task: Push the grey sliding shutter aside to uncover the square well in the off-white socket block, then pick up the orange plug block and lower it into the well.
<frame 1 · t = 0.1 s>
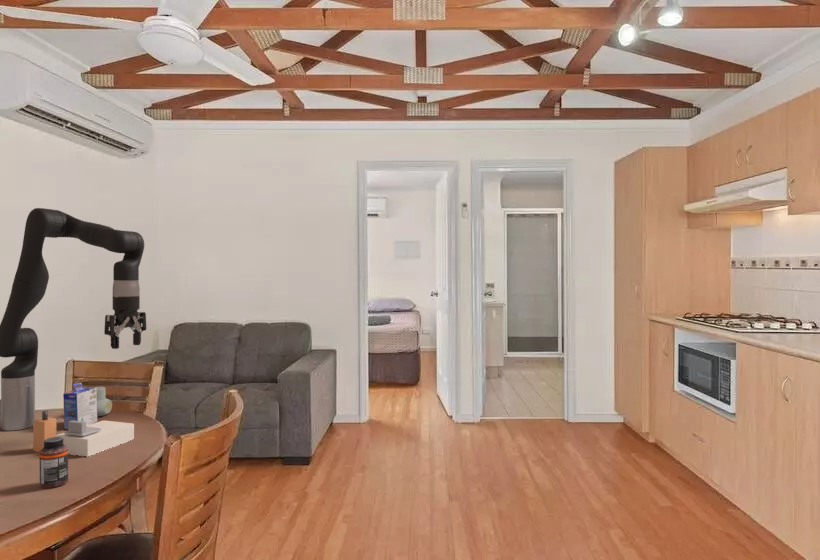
hand: (126, 346, 170), 29 cm above the table, tool pointing down, fingers open, 8 cm apart
air freshener: (96, 416, 199), on the table
socket: (94, 446, 164), on the table
plug: (45, 450, 160), on the table
supplement bottle: (54, 485, 135), on the table
ink cartridge box: (80, 426, 186), on the table
shutter: (83, 426, 160), point 7 cm above the table, slide at 0.0 cm
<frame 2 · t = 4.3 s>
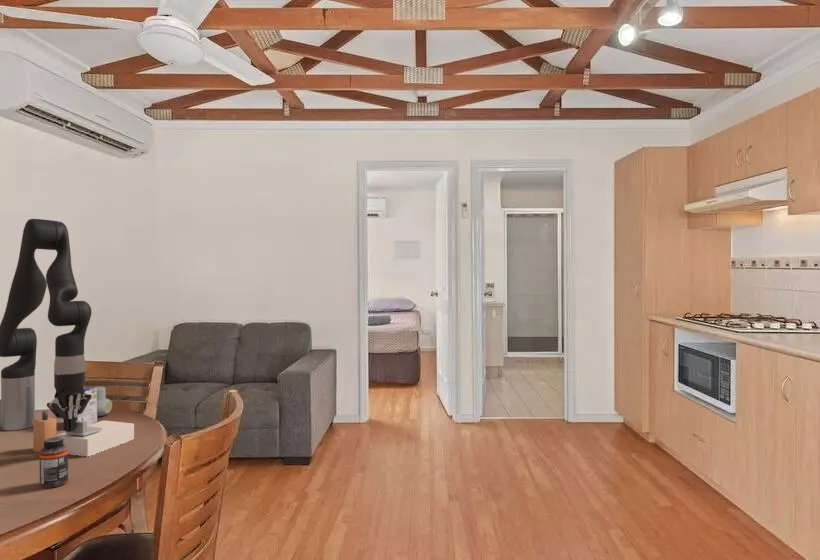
hand: (69, 431, 156), 7 cm above the table, tool pointing down, fingers closed
shutter: (84, 425, 160), point 7 cm above the table, slide at 0.4 cm, touching gripper
everything else where it was.
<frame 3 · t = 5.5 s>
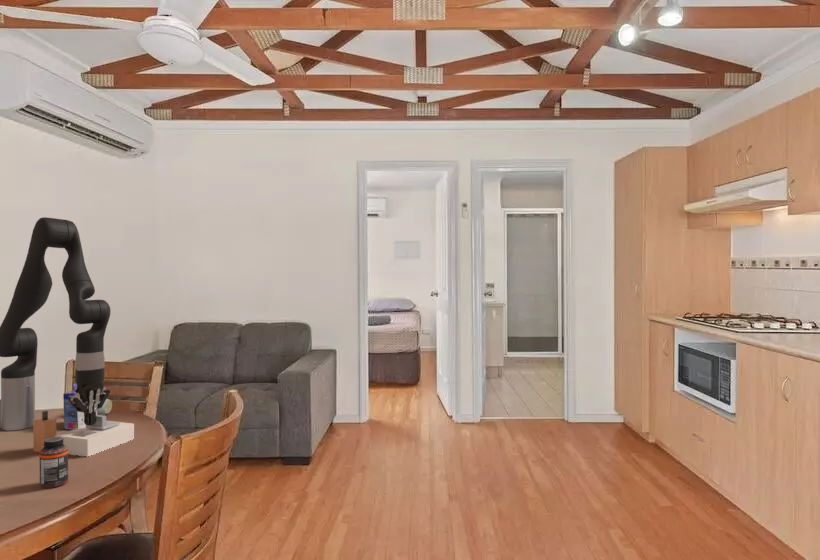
hand: (89, 424, 162), 7 cm above the table, tool pointing down, fingers closed
shutter: (103, 419, 167), point 7 cm above the table, slide at 7.1 cm, touching gripper
everything else where it was.
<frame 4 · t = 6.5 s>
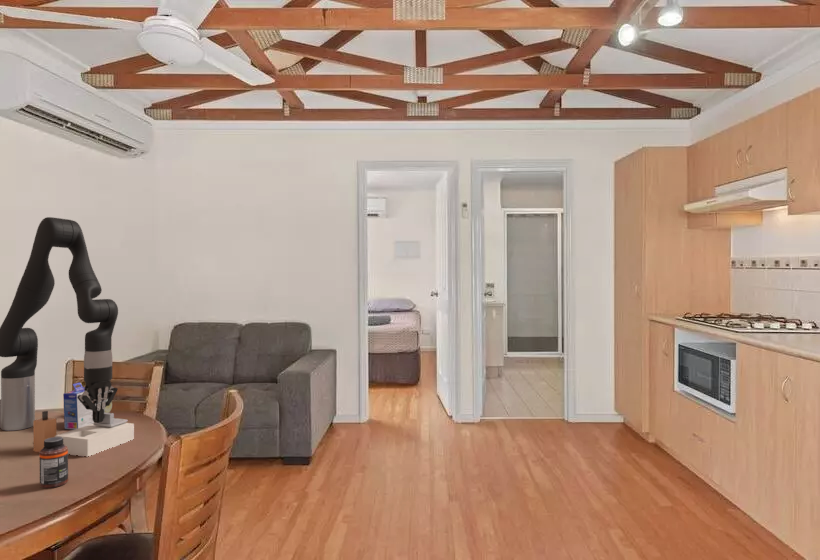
hand: (98, 422, 165), 7 cm above the table, tool pointing down, fingers closed
shutter: (110, 417, 169), point 7 cm above the table, slide at 10.0 cm, touching gripper
everything else where it was.
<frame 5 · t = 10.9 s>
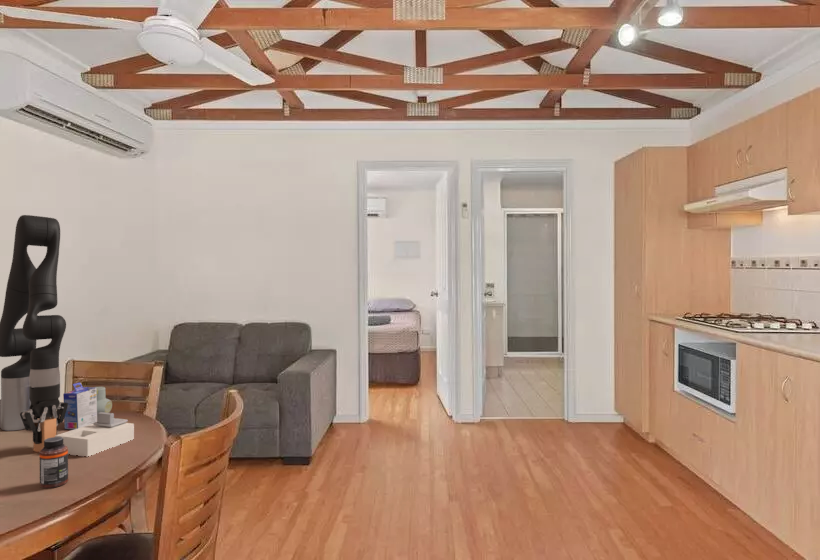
hand: (44, 441, 160), 3 cm above the table, tool pointing down, fingers closed on plug, 3 cm apart
plug: (45, 449, 160), on the table, touching gripper
shutter: (110, 417, 169), point 7 cm above the table, slide at 10.0 cm
everything else where it was.
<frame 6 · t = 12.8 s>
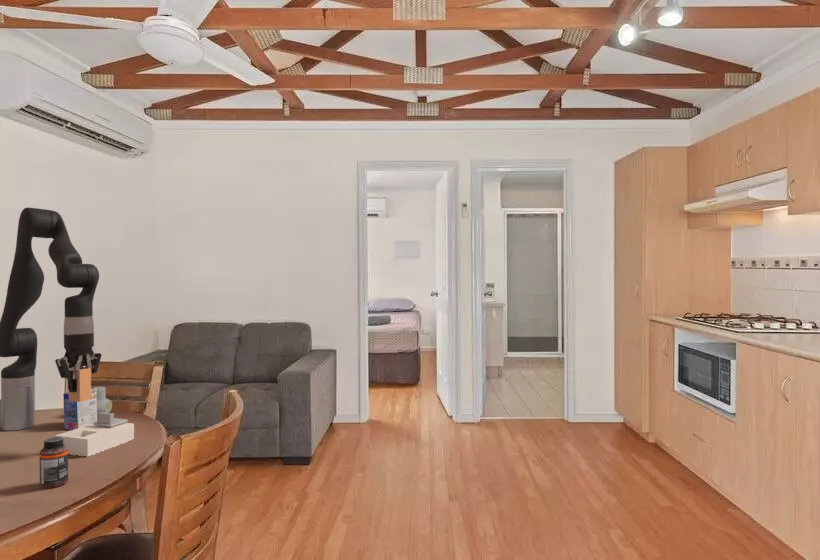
hand: (79, 390, 159), 18 cm above the table, tool pointing down, fingers closed on plug, 3 cm apart
plug: (80, 399, 159), point 15 cm above the table, touching gripper
everything else where it was.
when the fingers open (6 cm above the table, at t = 14.8 s): plug drops 3 cm, resting on socket.
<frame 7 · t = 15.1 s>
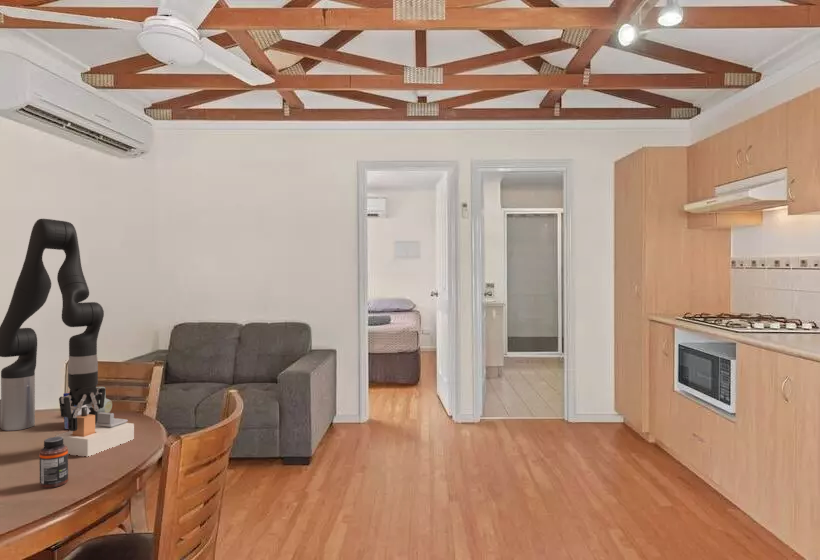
hand: (83, 427, 160), 7 cm above the table, tool pointing down, fingers open, 6 cm apart
plug: (83, 446, 160), point 1 cm above the table, touching socket
everything else where it was.
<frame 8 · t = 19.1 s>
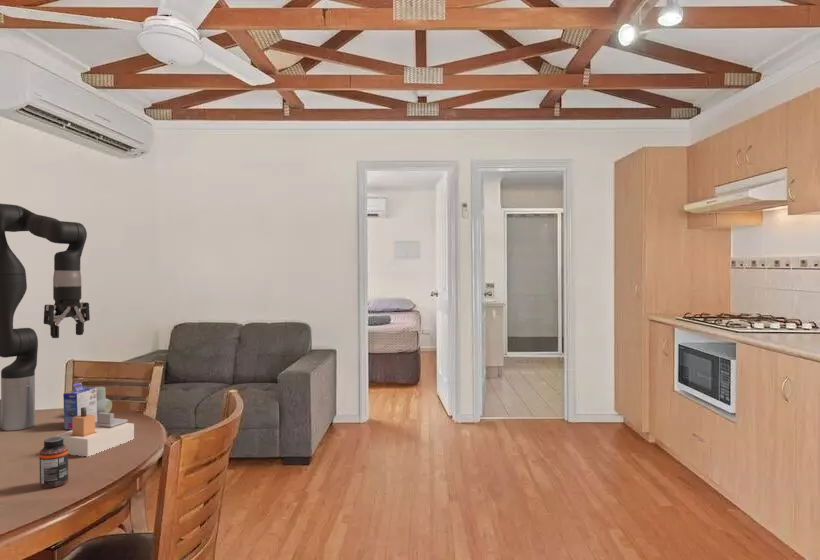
hand: (67, 336, 171), 32 cm above the table, tool pointing down, fingers open, 8 cm apart
nothing on the table moved.
at the end: plug 0.2 cm from the target spot on the socket, point 1.1 cm above the socket's base; shutter slide at 10.0 cm; plug tilted 0° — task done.
